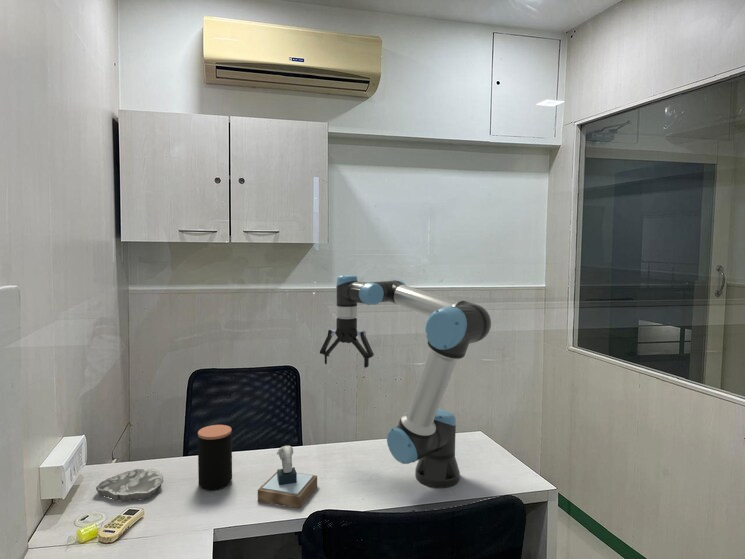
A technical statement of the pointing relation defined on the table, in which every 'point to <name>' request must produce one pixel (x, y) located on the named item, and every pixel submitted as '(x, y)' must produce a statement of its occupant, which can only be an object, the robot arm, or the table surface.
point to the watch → (286, 466)
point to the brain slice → (131, 485)
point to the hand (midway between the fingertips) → (346, 374)
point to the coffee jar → (214, 457)
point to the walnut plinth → (288, 491)
